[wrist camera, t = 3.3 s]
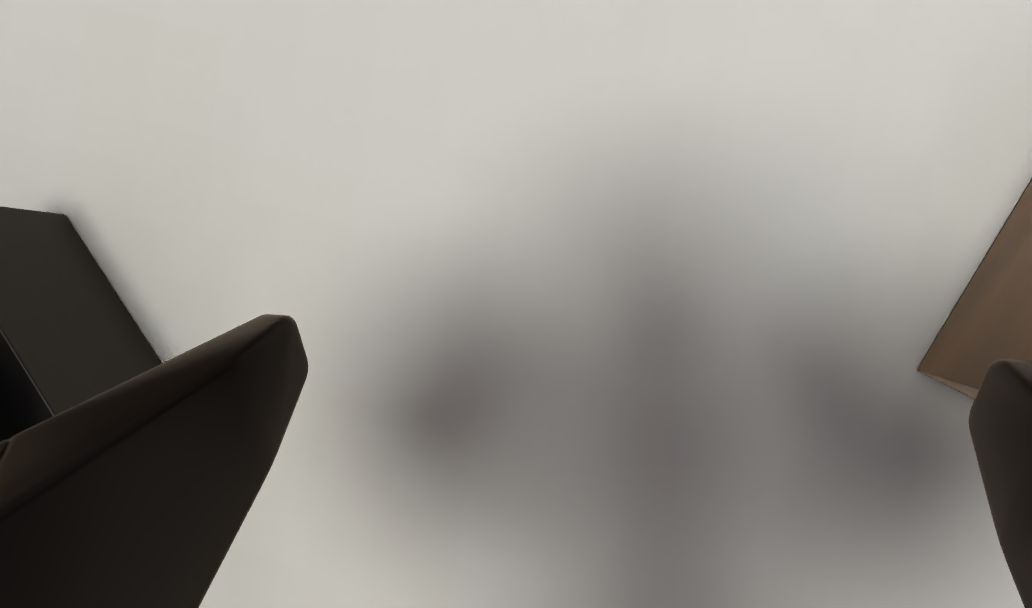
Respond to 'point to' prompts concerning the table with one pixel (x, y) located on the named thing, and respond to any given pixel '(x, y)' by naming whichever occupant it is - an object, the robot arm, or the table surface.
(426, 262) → the table surface
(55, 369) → the black button base
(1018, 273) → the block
